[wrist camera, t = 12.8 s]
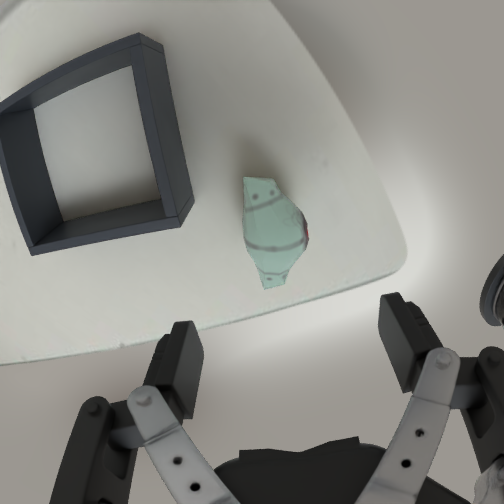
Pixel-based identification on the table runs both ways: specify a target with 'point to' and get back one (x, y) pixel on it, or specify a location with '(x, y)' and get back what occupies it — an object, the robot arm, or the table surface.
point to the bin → (34, 168)
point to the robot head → (272, 230)
